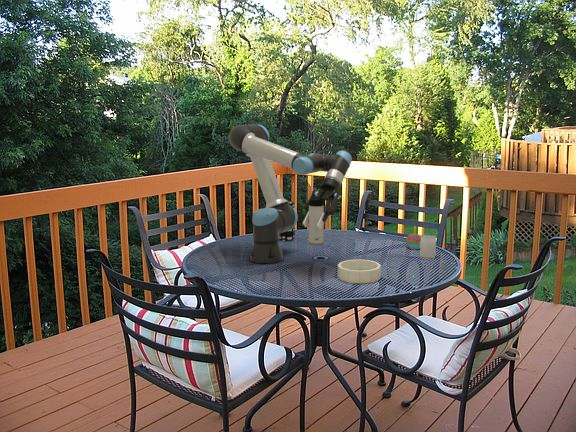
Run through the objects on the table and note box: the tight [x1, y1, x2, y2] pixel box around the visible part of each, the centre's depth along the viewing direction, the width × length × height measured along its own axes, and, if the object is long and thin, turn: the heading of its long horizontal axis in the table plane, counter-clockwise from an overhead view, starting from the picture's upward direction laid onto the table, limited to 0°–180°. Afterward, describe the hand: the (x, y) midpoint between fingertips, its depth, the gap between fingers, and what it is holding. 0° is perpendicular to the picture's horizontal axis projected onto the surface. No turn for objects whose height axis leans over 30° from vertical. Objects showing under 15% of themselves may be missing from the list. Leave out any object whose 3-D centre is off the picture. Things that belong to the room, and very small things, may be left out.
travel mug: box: [308, 197, 325, 247], centre depth 226 cm, size 6×7×20 cm
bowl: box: [337, 258, 382, 285], centre depth 222 cm, size 17×17×5 cm
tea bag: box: [419, 234, 437, 259], centre depth 249 cm, size 4×7×10 cm, turn 69°
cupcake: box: [405, 226, 422, 250], centre depth 265 cm, size 9×8×12 cm
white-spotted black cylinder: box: [278, 201, 296, 242], centre depth 287 cm, size 8×8×20 cm
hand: (311, 226), depth 223 cm, fingers closed on travel mug, 6 cm apart
